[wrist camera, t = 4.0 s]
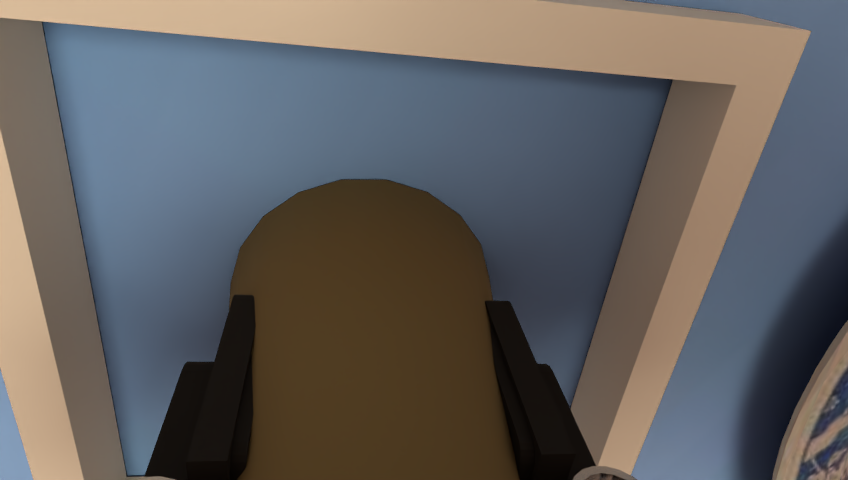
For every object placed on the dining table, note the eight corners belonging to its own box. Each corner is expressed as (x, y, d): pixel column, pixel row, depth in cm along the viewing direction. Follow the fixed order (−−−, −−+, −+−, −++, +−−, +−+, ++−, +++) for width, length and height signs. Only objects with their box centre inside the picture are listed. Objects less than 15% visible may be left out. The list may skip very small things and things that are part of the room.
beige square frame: (740, 13, 12) (811, 30, 10) (575, 488, 18) (600, 548, 16) (-44, -76, 9) (-132, -74, 8) (92, 502, 16) (61, 574, 14)
